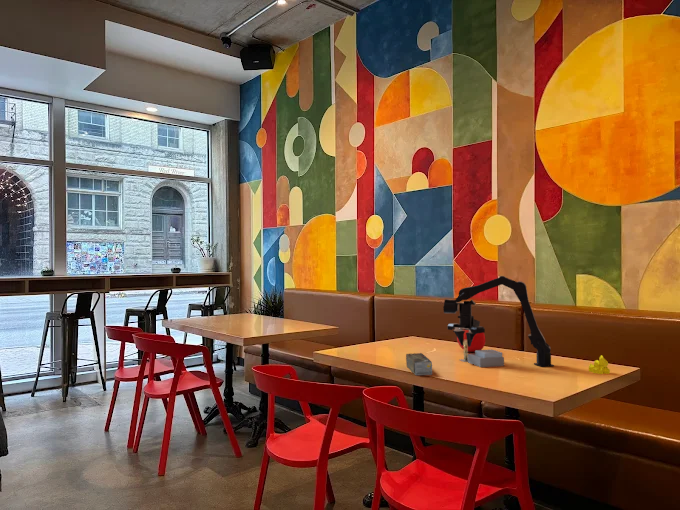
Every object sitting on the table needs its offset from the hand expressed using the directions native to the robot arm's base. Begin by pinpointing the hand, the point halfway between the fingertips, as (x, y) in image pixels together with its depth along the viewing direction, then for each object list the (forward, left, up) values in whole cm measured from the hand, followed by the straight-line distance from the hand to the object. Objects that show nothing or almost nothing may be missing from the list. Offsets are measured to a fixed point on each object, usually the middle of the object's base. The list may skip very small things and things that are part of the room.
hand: (465, 346), depth 251 cm
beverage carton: (-15, +30, -8) cm, 35 cm away
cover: (-11, -6, -3) cm, 13 cm away
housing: (-7, -4, -7) cm, 11 cm away
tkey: (-3, +1, -7) cm, 7 cm away
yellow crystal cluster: (-39, -43, -7) cm, 58 cm away
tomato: (+22, -14, -7) cm, 27 cm away
